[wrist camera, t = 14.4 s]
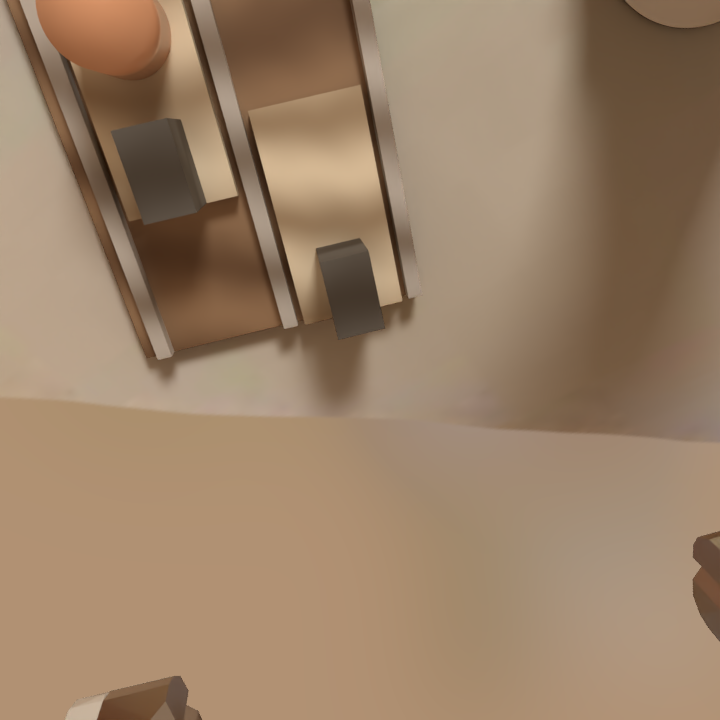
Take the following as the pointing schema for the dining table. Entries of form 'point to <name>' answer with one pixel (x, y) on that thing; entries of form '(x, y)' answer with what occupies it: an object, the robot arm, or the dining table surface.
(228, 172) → the strip
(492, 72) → the dining table surface
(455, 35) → the dining table surface
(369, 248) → the strip
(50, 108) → the lane board
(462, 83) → the dining table surface
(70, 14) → the orange rounded piece
